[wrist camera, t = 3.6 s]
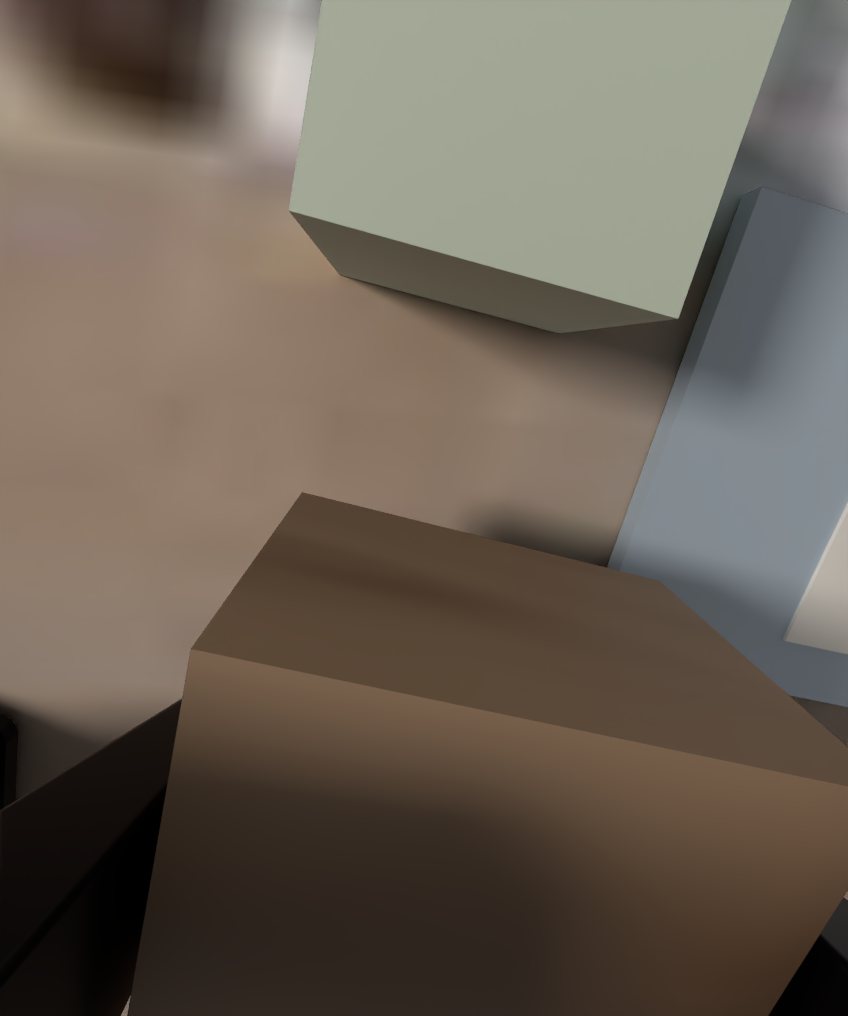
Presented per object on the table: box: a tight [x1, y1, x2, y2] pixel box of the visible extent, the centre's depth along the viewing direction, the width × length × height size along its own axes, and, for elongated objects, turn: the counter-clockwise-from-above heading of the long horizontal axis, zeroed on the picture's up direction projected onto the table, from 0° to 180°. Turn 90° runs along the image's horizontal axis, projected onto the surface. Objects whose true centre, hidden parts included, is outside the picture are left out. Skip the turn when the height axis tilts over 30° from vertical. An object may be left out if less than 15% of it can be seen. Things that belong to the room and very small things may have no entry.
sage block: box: [289, 0, 791, 333], centre depth 8 cm, size 5×5×5 cm
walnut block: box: [127, 492, 848, 1016], centre depth 7 cm, size 6×6×4 cm
